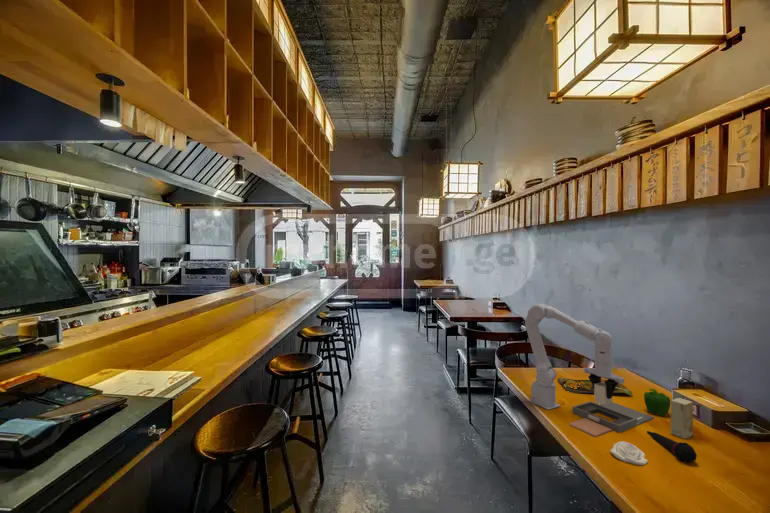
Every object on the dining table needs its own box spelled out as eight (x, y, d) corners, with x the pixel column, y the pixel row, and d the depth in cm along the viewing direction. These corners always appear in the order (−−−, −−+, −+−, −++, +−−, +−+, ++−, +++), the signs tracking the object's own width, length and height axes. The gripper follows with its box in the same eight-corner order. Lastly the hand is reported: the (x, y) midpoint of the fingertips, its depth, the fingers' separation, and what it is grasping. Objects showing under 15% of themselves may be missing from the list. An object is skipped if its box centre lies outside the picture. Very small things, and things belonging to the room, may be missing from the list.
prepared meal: (567, 386, 159) (556, 373, 177) (567, 393, 159) (556, 379, 177) (634, 392, 153) (615, 378, 171) (633, 400, 153) (615, 385, 171)
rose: (625, 433, 113) (655, 449, 104) (625, 447, 113) (655, 463, 104) (602, 438, 111) (631, 454, 101) (602, 451, 111) (631, 469, 101)
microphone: (643, 441, 122) (687, 468, 102) (637, 425, 123) (678, 449, 103) (658, 437, 122) (704, 463, 102) (651, 421, 123) (696, 444, 103)
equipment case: (571, 413, 138) (571, 407, 138) (607, 401, 149) (607, 396, 149) (617, 433, 122) (617, 426, 122) (654, 418, 133) (654, 412, 133)
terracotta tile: (569, 425, 128) (569, 423, 128) (585, 419, 132) (585, 417, 132) (595, 437, 119) (595, 435, 119) (611, 430, 123) (611, 429, 123)
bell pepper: (671, 413, 138) (670, 388, 138) (670, 420, 132) (669, 394, 132) (645, 407, 144) (645, 383, 144) (643, 413, 138) (643, 389, 138)
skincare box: (685, 439, 117) (685, 404, 118) (670, 434, 121) (669, 400, 121) (693, 435, 120) (693, 401, 121) (678, 429, 124) (678, 396, 124)
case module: (594, 401, 134) (594, 383, 134) (601, 399, 136) (601, 381, 136) (604, 405, 130) (604, 387, 130) (612, 402, 132) (612, 384, 132)
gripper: (628, 365, 128) (629, 400, 128) (591, 355, 141) (591, 388, 141) (618, 368, 125) (618, 404, 125) (580, 358, 138) (580, 390, 138)
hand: (603, 395), depth 133 cm, fingers closed on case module, 4 cm apart
